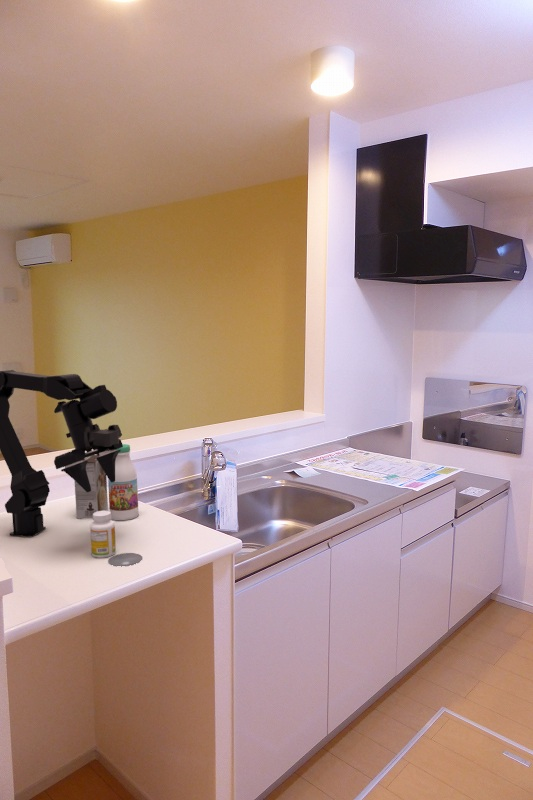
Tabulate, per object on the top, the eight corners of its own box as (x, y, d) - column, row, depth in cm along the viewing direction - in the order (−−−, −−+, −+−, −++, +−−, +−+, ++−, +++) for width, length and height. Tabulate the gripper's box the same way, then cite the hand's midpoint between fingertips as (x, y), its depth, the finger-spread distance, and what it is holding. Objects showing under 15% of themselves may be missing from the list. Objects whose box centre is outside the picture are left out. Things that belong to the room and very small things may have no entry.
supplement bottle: (106, 547, 139) (104, 507, 138) (120, 553, 136) (118, 512, 134) (86, 554, 135) (84, 513, 134) (100, 560, 132) (98, 518, 130)
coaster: (102, 566, 129) (102, 564, 129) (117, 553, 136) (117, 551, 136) (134, 568, 127) (134, 567, 127) (147, 555, 134) (147, 554, 134)
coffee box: (86, 508, 170) (83, 454, 168) (108, 508, 169) (106, 454, 167) (75, 519, 160) (72, 461, 158) (99, 518, 160) (96, 461, 158)
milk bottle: (107, 514, 164) (104, 444, 162) (135, 510, 167) (132, 441, 165) (112, 522, 157) (108, 449, 154) (141, 518, 160) (138, 446, 158)
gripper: (79, 420, 128) (103, 488, 128) (129, 409, 146) (149, 468, 145) (42, 435, 133) (65, 500, 132) (95, 422, 150) (115, 480, 150)
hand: (101, 486), depth 140 cm, fingers open, 9 cm apart
